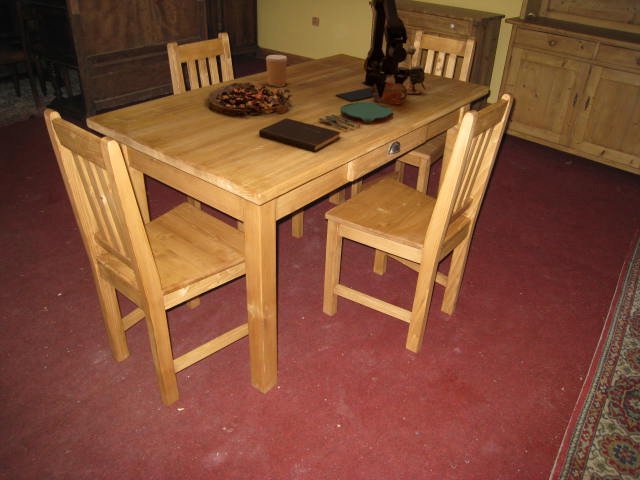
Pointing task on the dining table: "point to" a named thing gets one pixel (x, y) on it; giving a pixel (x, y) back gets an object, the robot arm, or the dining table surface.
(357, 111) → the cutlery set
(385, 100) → the tin
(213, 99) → the food dish
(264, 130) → the hardcover book
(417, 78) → the plant with pod
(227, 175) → the dining table surface
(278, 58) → the glass of beer
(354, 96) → the placemat
